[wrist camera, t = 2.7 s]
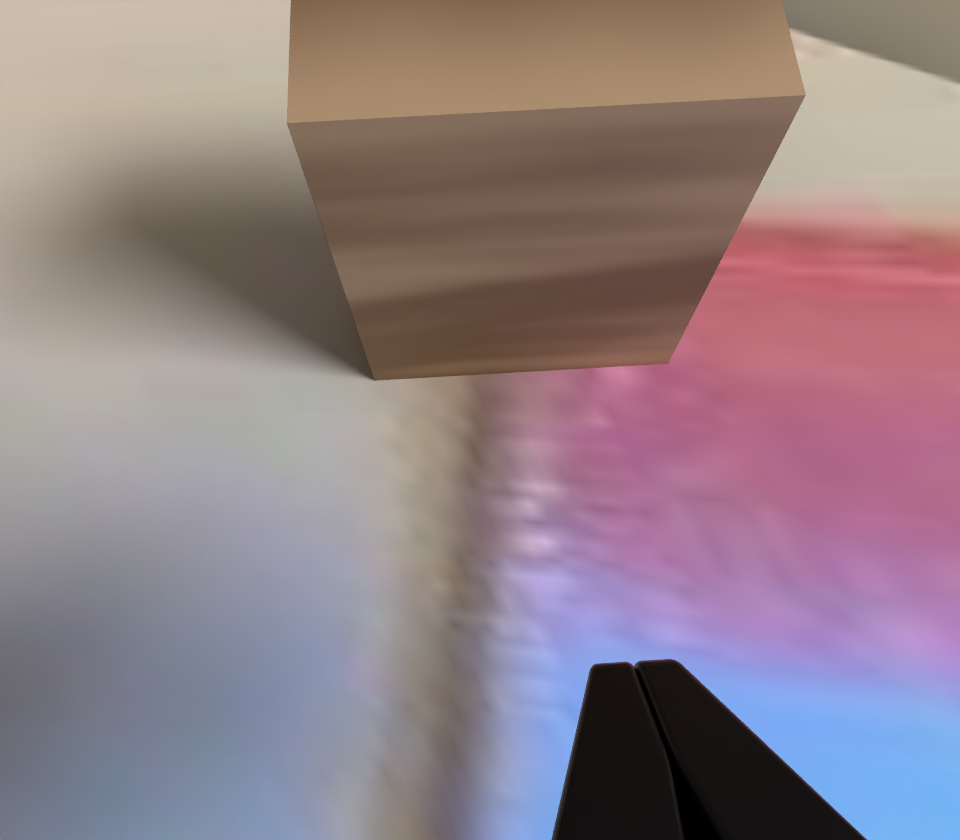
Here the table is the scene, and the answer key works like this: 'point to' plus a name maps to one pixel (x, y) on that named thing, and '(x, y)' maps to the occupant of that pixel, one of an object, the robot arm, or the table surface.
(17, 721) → the table surface
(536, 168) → the brown block
